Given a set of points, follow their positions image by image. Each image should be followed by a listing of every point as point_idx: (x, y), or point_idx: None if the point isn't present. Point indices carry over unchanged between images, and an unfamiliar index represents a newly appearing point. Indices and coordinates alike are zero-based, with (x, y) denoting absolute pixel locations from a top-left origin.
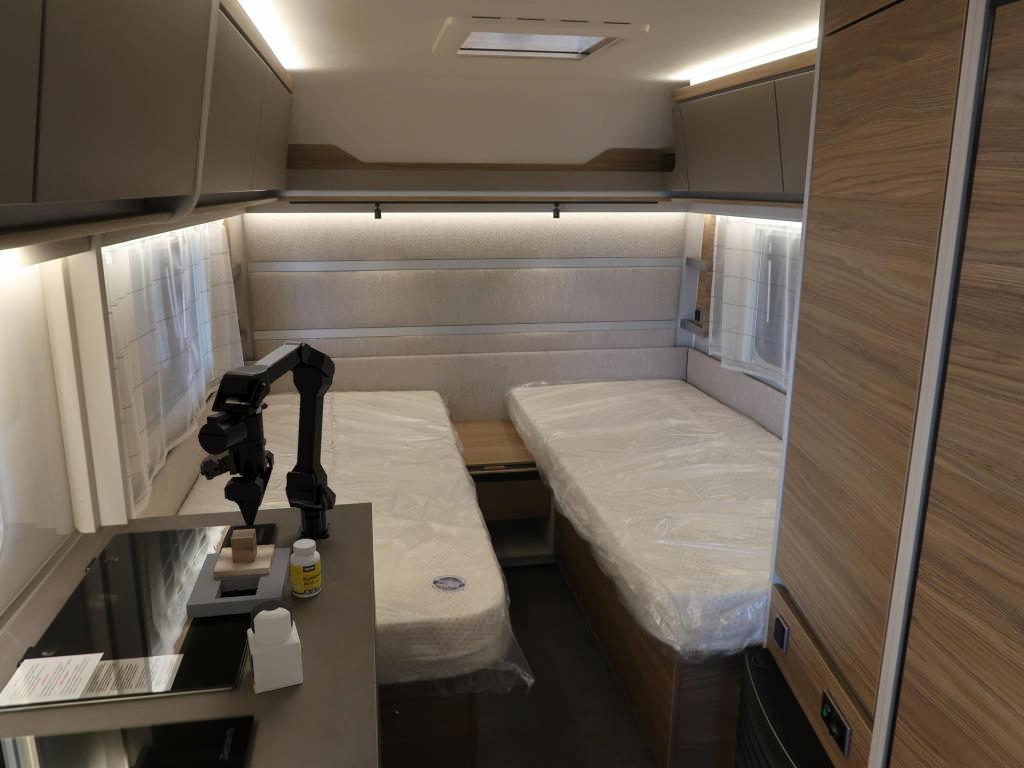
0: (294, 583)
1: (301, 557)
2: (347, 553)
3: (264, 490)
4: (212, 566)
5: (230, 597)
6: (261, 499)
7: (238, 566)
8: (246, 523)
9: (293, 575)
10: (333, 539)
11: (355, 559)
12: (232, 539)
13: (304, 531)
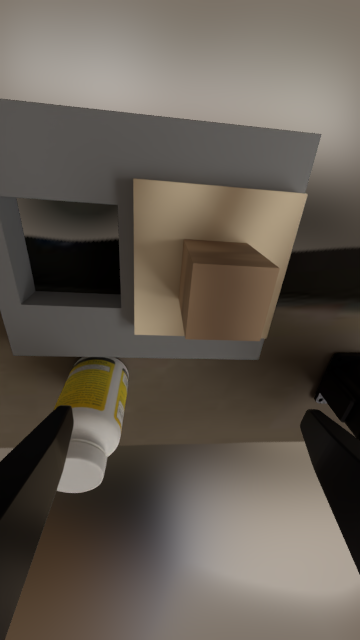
0: (70, 378)
1: None
2: (234, 423)
3: (344, 531)
4: (216, 164)
5: (5, 242)
6: (316, 465)
7: (157, 258)
8: (45, 421)
9: (65, 391)
10: (301, 404)
11: (206, 433)
12: (191, 269)
13: (347, 370)
